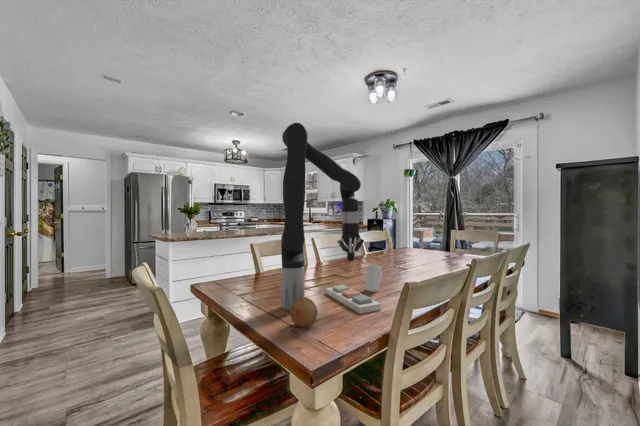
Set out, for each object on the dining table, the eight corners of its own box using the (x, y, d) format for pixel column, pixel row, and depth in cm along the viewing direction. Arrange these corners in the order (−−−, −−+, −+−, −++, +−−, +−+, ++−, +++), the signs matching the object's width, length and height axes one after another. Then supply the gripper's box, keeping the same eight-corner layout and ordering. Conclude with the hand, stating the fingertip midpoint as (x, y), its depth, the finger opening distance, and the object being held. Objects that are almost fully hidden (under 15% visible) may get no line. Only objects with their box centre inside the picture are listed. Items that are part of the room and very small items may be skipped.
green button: (338, 293, 135) (338, 289, 135) (332, 290, 141) (332, 286, 141) (349, 291, 138) (349, 287, 138) (343, 288, 143) (343, 284, 143)
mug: (371, 292, 143) (371, 268, 143) (362, 289, 149) (362, 265, 149) (387, 289, 148) (387, 265, 148) (377, 286, 154) (377, 263, 154)
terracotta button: (348, 299, 127) (348, 294, 127) (341, 295, 133) (341, 290, 132) (360, 297, 130) (360, 292, 130) (353, 293, 135) (353, 289, 135)
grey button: (360, 305, 119) (360, 300, 119) (352, 301, 124) (352, 296, 124) (372, 303, 121) (372, 298, 121) (364, 299, 127) (364, 294, 127)
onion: (315, 332, 99) (314, 302, 99) (286, 330, 100) (286, 301, 100) (319, 321, 108) (319, 294, 108) (293, 319, 110) (293, 293, 110)
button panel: (359, 313, 115) (359, 307, 115) (326, 293, 143) (326, 288, 143) (380, 309, 120) (380, 303, 120) (344, 290, 147) (344, 285, 147)
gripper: (341, 222, 124) (341, 263, 124) (367, 221, 130) (368, 261, 130) (333, 222, 131) (333, 260, 131) (358, 221, 136) (358, 258, 137)
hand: (350, 260), depth 131 cm, fingers closed
